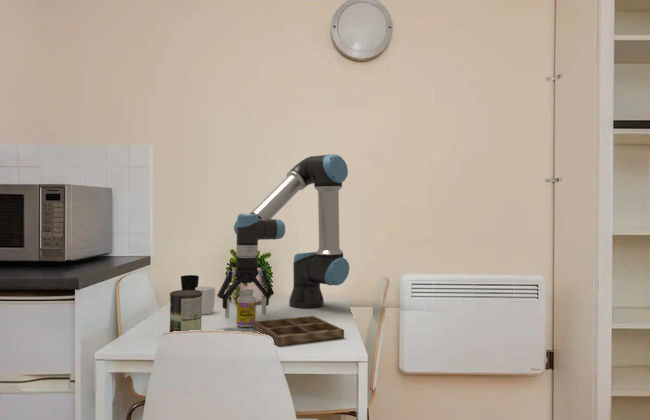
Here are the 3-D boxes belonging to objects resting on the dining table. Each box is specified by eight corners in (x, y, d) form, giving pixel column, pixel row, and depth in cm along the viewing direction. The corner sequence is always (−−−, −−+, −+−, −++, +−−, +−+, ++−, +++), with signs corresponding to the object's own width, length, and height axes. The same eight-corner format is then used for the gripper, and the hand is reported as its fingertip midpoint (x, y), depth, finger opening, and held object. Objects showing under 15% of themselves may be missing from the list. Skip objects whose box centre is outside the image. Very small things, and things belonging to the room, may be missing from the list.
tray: (313, 323, 181) (313, 315, 181) (343, 338, 160) (344, 329, 160) (253, 329, 170) (253, 321, 170) (278, 346, 150) (278, 337, 150)
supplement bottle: (237, 328, 172) (237, 291, 172) (236, 324, 178) (236, 288, 178) (256, 327, 173) (256, 291, 173) (254, 323, 180) (255, 288, 180)
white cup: (200, 315, 191) (200, 290, 191) (191, 312, 197) (191, 287, 197) (218, 313, 196) (218, 288, 196) (209, 310, 202) (209, 285, 202)
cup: (190, 301, 220) (191, 274, 220) (202, 303, 216) (202, 276, 216) (176, 303, 214) (177, 276, 214) (188, 306, 210) (188, 278, 210)
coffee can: (164, 338, 157) (165, 294, 157) (175, 330, 167) (175, 289, 167) (196, 339, 157) (197, 295, 157) (205, 331, 167) (206, 290, 167)
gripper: (215, 258, 167) (213, 321, 166) (283, 256, 178) (282, 315, 178) (209, 256, 173) (208, 316, 173) (275, 255, 185) (274, 311, 185)
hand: (245, 316), depth 175 cm, fingers open, 13 cm apart
